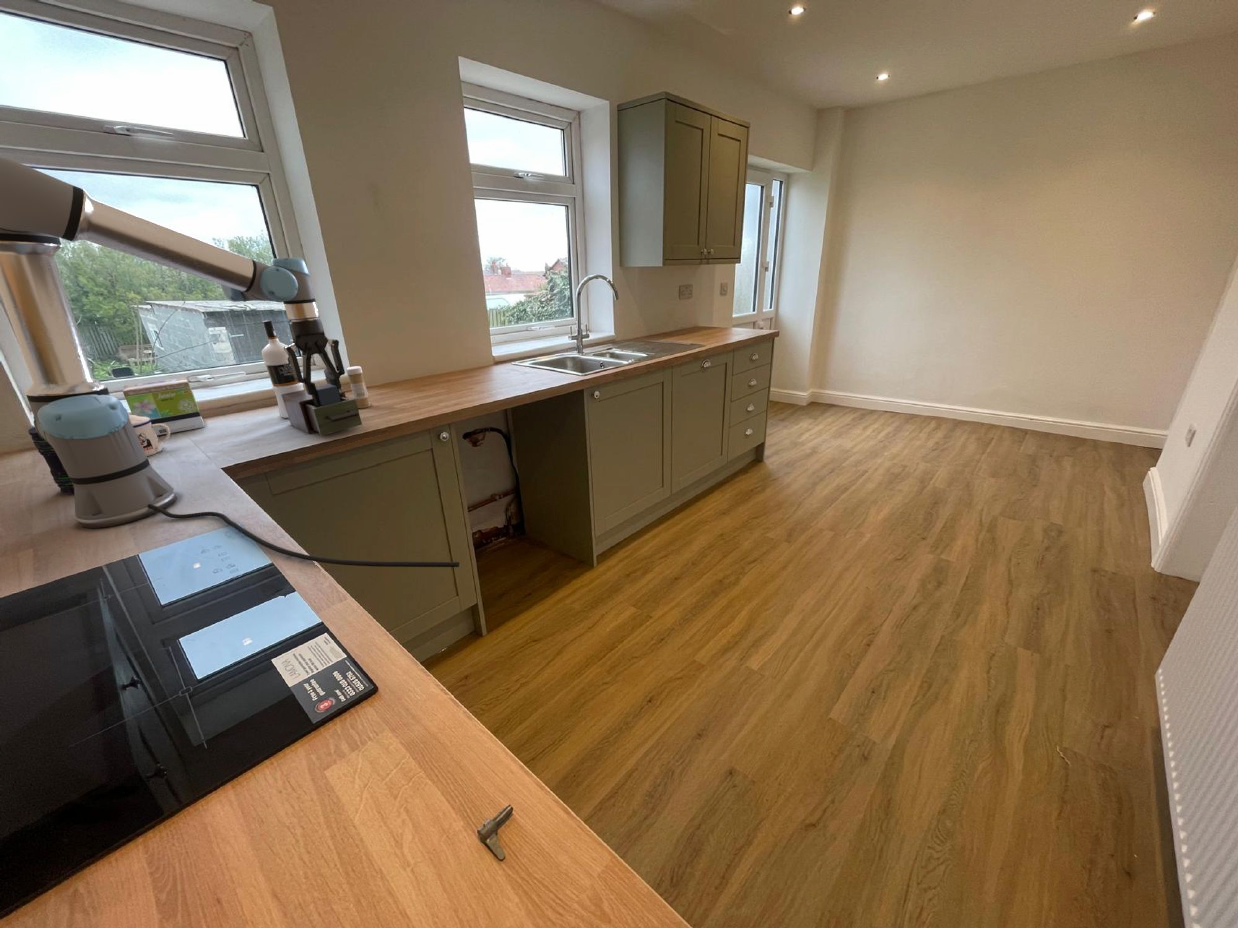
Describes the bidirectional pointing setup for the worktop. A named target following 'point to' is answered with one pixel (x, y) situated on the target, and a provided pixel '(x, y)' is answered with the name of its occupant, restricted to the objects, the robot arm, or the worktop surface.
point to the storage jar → (53, 463)
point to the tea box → (165, 404)
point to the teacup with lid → (148, 434)
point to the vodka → (279, 367)
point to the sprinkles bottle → (358, 386)
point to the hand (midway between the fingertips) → (328, 402)
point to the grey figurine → (328, 377)
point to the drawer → (333, 416)
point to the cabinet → (299, 408)
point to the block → (327, 394)
